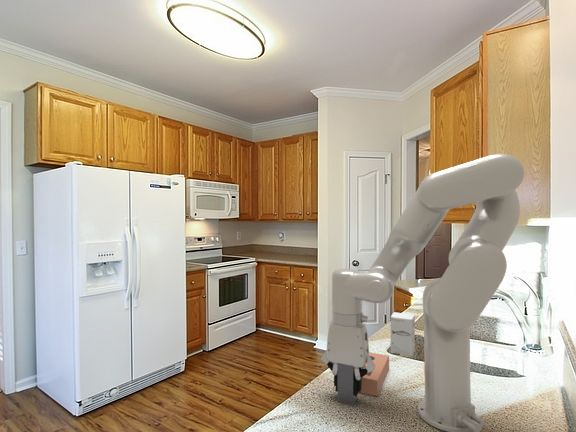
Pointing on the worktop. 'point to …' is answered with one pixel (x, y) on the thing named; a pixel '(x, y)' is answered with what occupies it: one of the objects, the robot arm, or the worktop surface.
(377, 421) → the worktop surface
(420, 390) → the worktop surface
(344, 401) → the square peg
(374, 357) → the bore block
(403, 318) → the supplement box
